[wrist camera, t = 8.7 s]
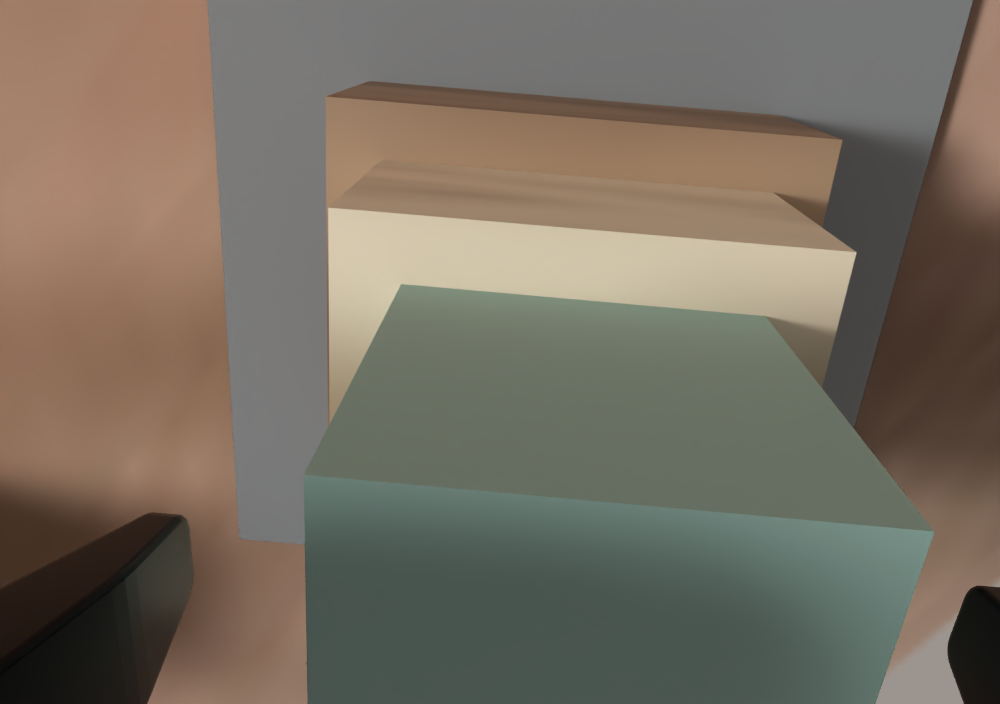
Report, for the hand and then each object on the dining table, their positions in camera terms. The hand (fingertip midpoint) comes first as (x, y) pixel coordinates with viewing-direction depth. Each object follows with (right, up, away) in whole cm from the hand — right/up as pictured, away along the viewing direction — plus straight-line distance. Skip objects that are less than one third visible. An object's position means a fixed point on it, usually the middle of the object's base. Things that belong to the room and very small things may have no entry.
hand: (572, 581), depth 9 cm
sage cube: (0, +1, +3) cm, 3 cm away
